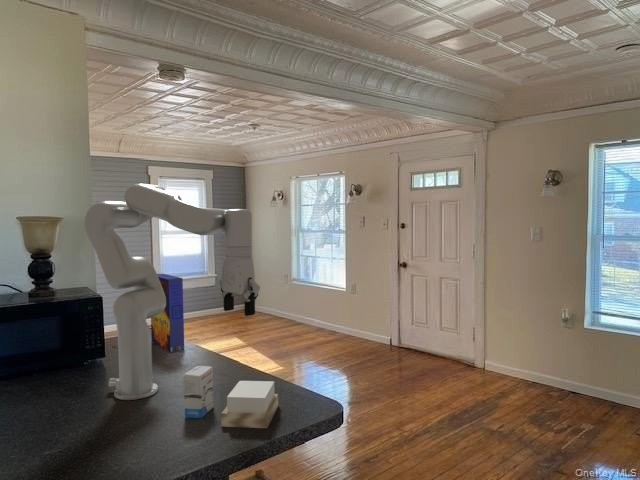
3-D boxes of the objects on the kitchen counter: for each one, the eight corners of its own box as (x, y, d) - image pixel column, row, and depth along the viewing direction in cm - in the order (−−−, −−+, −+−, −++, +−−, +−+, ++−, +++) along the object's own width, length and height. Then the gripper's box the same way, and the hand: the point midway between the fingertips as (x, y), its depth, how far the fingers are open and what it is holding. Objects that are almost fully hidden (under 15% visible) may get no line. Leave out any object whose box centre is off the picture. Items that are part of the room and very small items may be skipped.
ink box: (200, 419, 123) (199, 375, 122) (183, 418, 124) (182, 374, 123) (214, 406, 131) (213, 365, 131) (198, 405, 132) (197, 364, 132)
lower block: (221, 428, 118) (221, 413, 118) (237, 406, 132) (237, 392, 132) (267, 430, 117) (266, 414, 117) (278, 407, 131) (278, 394, 131)
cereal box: (151, 342, 202) (149, 274, 200) (165, 339, 206) (163, 273, 204) (170, 353, 185) (168, 278, 183) (184, 350, 189) (182, 277, 187)
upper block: (227, 412, 119) (226, 397, 119) (240, 394, 131) (239, 380, 131) (265, 413, 118) (264, 398, 118) (274, 395, 130) (274, 381, 130)
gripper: (209, 251, 133) (210, 310, 134) (247, 255, 122) (247, 319, 122) (231, 250, 139) (231, 306, 140) (268, 253, 127) (269, 315, 128)
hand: (239, 312), depth 131 cm, fingers open, 9 cm apart
